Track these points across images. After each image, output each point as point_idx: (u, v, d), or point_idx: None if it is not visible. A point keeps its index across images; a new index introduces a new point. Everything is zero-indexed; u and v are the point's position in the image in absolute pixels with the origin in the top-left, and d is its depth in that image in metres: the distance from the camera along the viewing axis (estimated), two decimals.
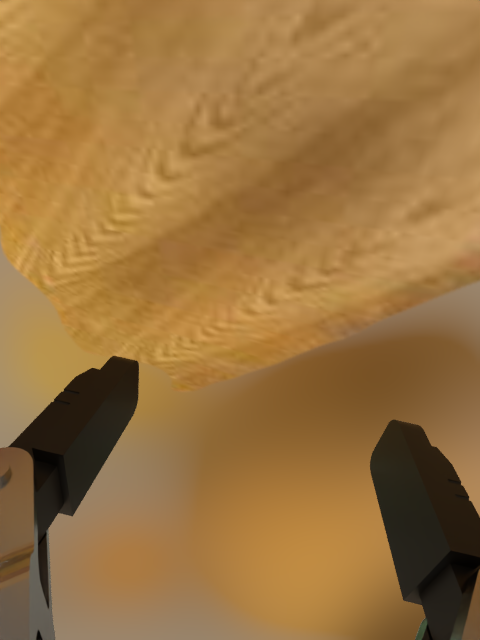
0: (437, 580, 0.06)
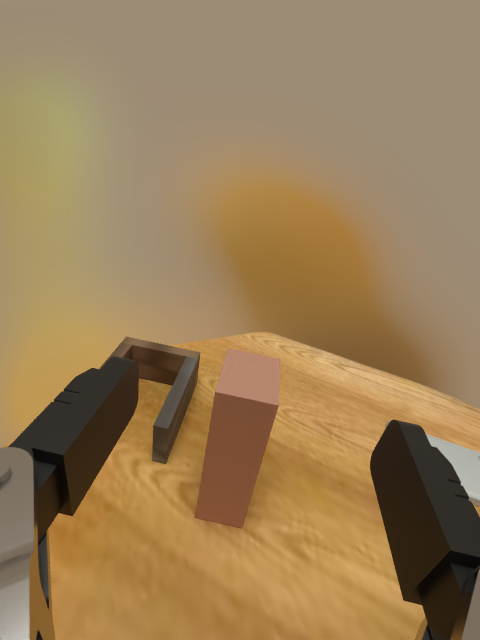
0: (437, 580, 0.06)
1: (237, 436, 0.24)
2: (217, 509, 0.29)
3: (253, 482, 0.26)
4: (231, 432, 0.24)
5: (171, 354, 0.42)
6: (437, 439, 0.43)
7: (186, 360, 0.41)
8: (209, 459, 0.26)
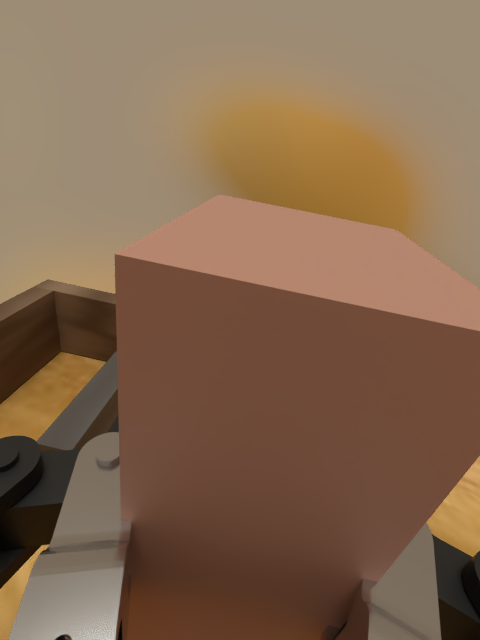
0: None
1: (251, 521, 0.05)
2: None
3: None
4: (226, 501, 0.05)
5: None
6: None
7: None
8: (141, 588, 0.07)
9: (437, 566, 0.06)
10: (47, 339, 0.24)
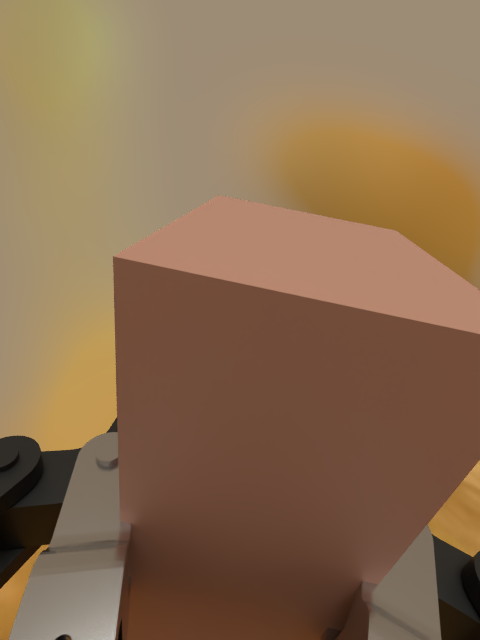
0: None
1: (251, 524, 0.05)
2: None
3: None
4: (225, 504, 0.05)
5: None
6: None
7: None
8: (140, 591, 0.07)
9: (437, 566, 0.06)
10: None
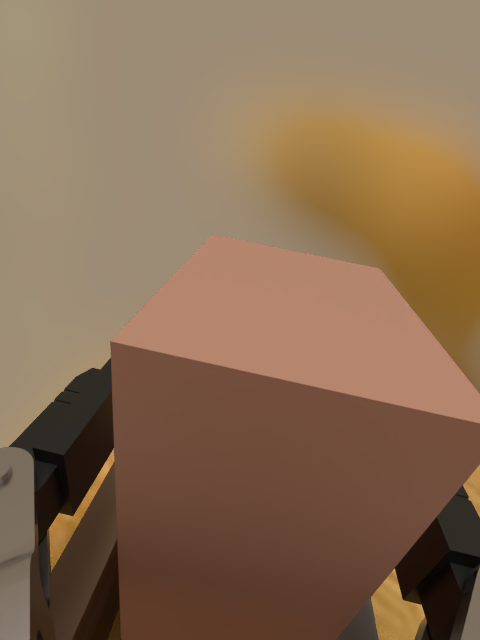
0: (437, 580, 0.06)
1: (239, 559, 0.05)
2: None
3: None
4: (215, 542, 0.05)
5: None
6: None
7: None
8: (137, 614, 0.07)
9: None
10: None
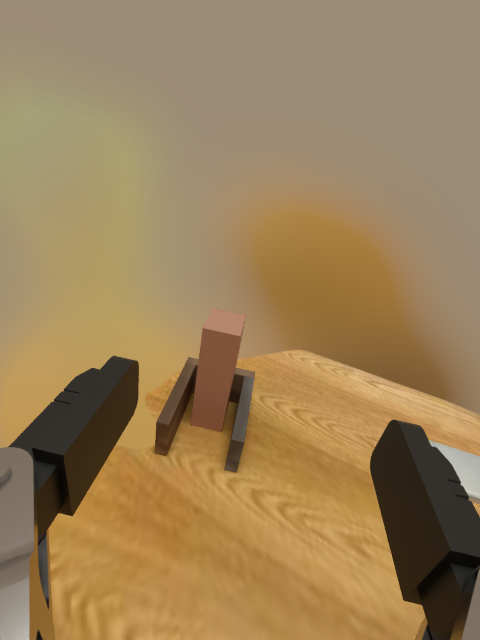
0: (437, 580, 0.06)
1: (216, 359, 0.39)
2: (205, 416, 0.43)
3: (228, 393, 0.41)
4: (213, 356, 0.39)
5: None
6: (470, 454, 0.47)
7: (245, 379, 0.46)
8: (199, 377, 0.40)
9: None
10: (191, 388, 0.48)
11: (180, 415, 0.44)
